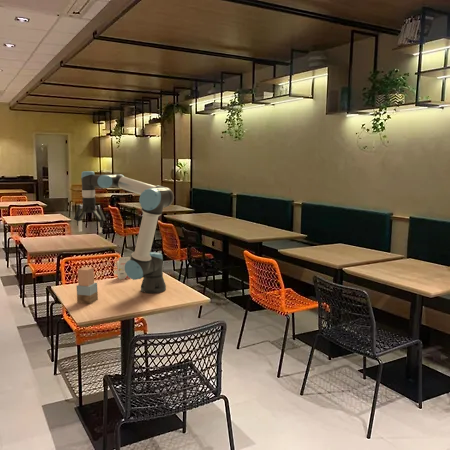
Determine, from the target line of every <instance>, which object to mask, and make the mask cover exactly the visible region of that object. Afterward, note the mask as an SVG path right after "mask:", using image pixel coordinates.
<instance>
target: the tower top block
mask: <svg viewBox="0 0 450 450" xmlns="http://www.w3.org/2000/svg"><path fill="white" fill-rule="evenodd" d="M96 292H98V282H94V284H92V285H90V286H79V284H77V285H76V296H77V295H88V296H90V295H92V294H94V293H96Z"/></svg>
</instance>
